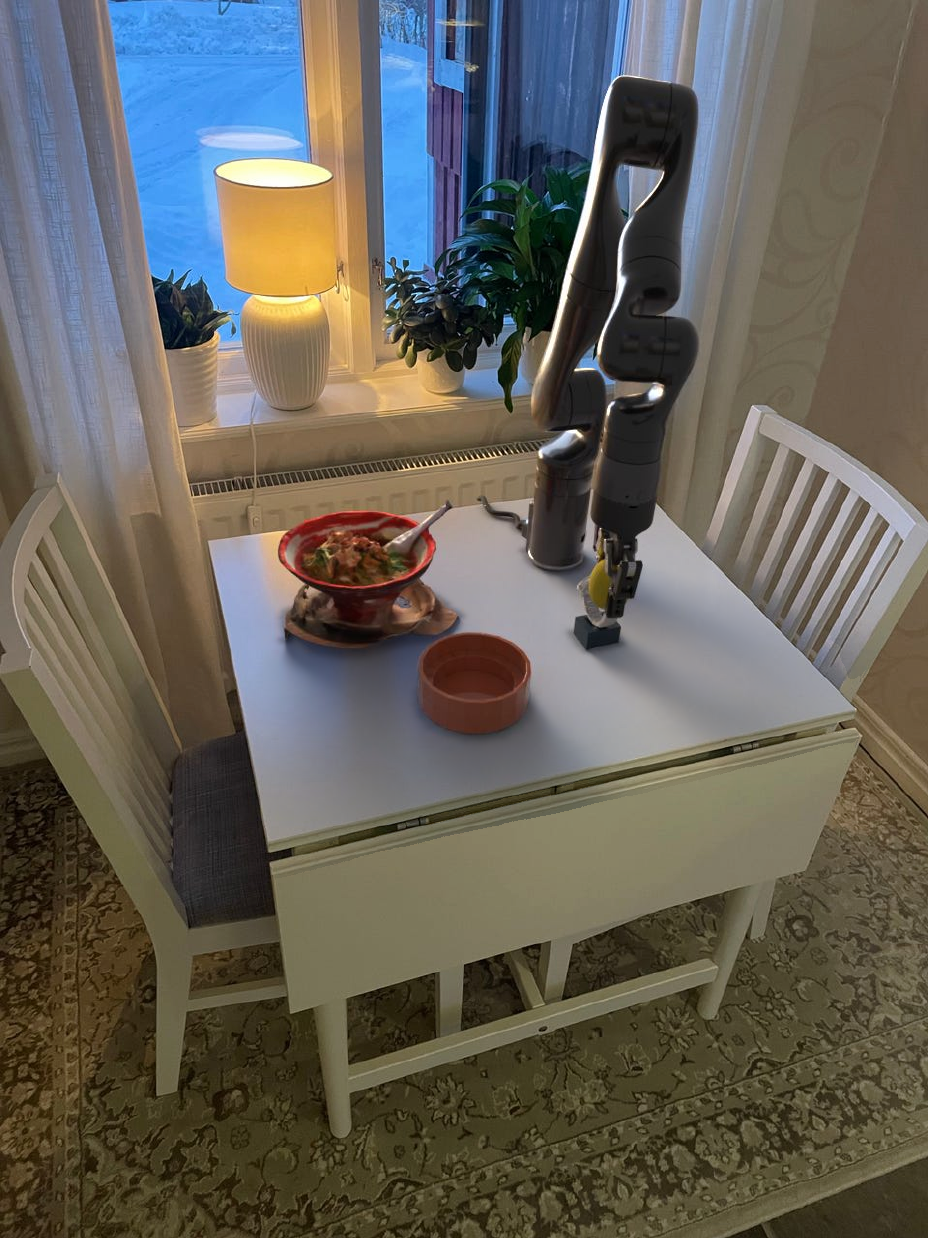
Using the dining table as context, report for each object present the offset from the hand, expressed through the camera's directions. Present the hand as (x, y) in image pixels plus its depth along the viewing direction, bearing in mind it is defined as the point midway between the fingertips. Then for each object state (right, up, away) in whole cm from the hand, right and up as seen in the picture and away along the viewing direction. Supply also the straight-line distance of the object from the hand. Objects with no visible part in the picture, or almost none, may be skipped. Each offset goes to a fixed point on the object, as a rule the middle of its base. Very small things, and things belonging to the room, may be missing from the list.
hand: (608, 601), depth 120 cm
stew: (-33, -1, +27) cm, 43 cm away
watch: (+2, -5, +23) cm, 24 cm away
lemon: (0, -1, +1) cm, 2 cm away
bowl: (-17, -13, +10) cm, 24 cm away
